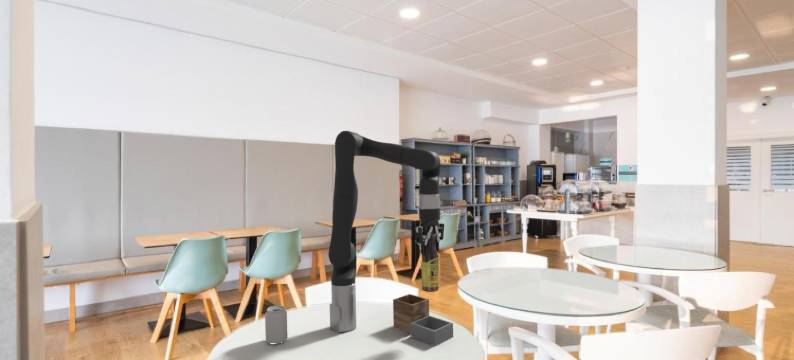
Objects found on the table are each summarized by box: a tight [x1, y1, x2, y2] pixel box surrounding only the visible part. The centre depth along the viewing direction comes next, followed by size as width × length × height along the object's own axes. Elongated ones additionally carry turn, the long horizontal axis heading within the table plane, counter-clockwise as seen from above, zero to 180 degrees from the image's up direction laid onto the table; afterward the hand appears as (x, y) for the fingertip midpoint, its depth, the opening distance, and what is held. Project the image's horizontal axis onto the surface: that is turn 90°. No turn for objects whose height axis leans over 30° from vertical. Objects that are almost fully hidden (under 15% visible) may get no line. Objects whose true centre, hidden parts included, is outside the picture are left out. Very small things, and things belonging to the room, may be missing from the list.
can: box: [264, 305, 288, 344], centre depth 141 cm, size 8×8×12 cm
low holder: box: [410, 315, 454, 347], centre depth 141 cm, size 10×11×5 cm
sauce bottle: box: [421, 235, 440, 293], centre depth 141 cm, size 6×6×20 cm
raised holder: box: [392, 293, 430, 334], centre depth 151 cm, size 9×10×10 cm
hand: (430, 253), depth 141 cm, fingers closed on sauce bottle, 5 cm apart
